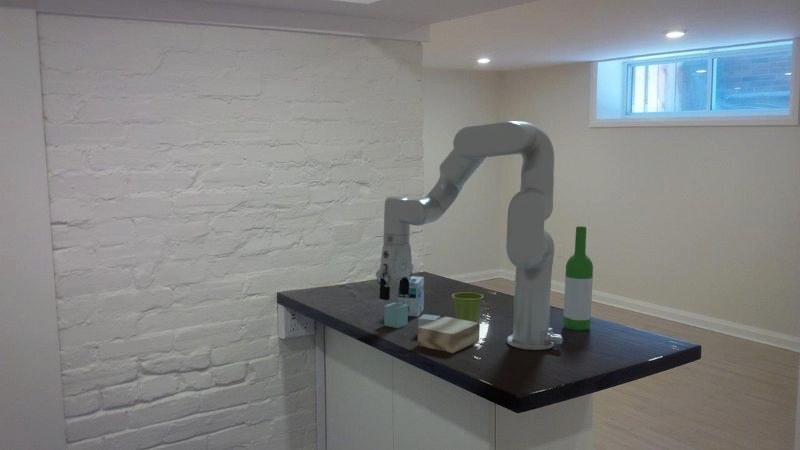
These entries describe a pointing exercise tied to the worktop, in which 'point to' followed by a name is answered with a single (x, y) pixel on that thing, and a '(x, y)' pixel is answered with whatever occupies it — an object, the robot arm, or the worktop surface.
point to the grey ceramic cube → (427, 319)
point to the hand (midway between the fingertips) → (394, 296)
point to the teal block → (396, 315)
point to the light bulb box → (413, 296)
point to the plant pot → (467, 305)
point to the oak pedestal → (448, 334)
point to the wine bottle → (578, 286)
